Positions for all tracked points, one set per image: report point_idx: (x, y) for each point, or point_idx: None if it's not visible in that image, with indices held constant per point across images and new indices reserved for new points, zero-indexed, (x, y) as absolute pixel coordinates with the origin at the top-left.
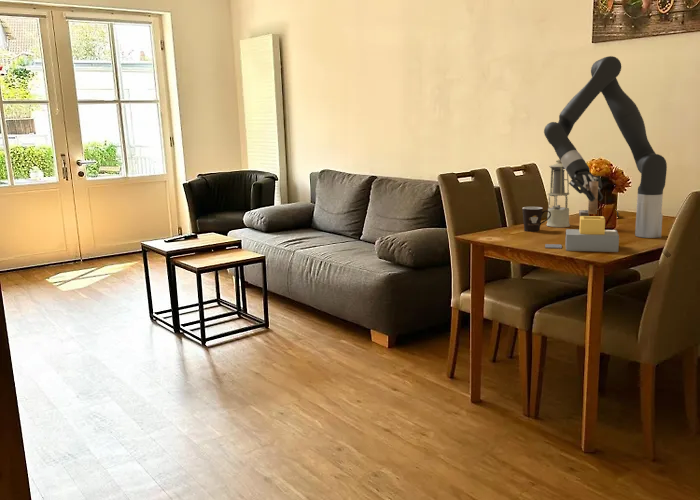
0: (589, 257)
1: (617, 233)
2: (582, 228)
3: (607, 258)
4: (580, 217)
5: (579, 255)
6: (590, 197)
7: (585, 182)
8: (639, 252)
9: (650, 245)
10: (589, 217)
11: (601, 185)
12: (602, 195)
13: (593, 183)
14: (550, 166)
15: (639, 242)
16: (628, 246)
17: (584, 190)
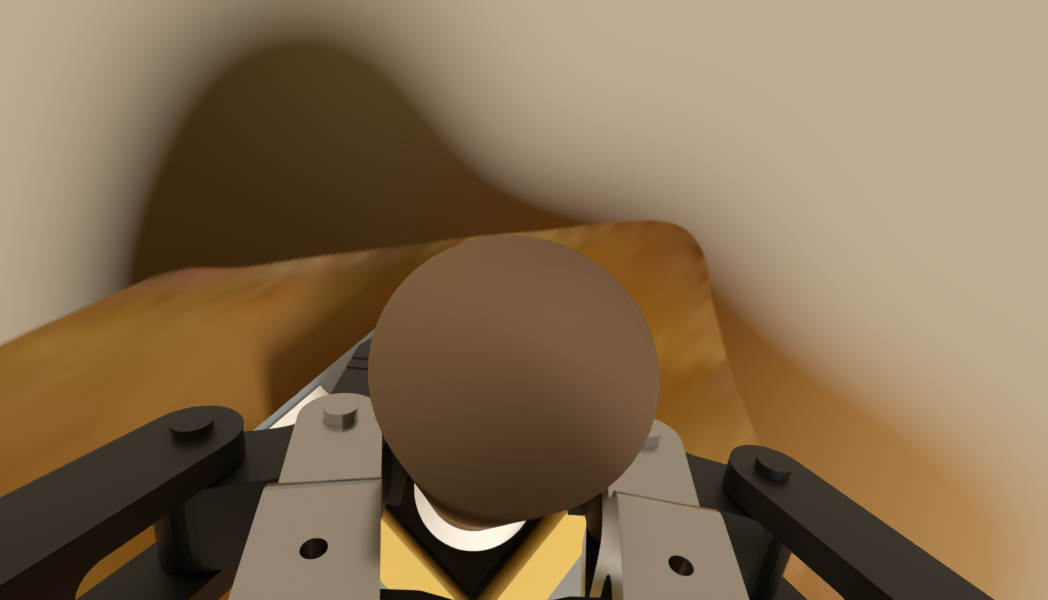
0: (664, 318)
1: (365, 339)
2: None
3: (604, 256)
4: (557, 581)
5: (677, 381)
6: None
7: (717, 551)
8: (358, 255)
9: (104, 341)
10: (429, 570)
11: (129, 448)
12: (365, 347)
13: (604, 298)
14: None
15: (32, 453)
16: (236, 399)
17: (720, 464)
